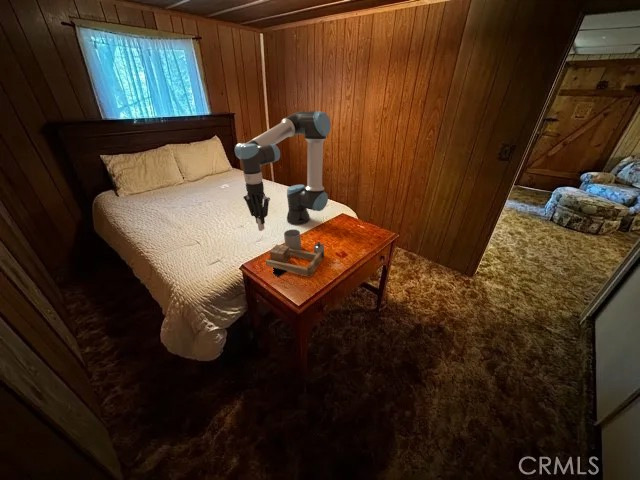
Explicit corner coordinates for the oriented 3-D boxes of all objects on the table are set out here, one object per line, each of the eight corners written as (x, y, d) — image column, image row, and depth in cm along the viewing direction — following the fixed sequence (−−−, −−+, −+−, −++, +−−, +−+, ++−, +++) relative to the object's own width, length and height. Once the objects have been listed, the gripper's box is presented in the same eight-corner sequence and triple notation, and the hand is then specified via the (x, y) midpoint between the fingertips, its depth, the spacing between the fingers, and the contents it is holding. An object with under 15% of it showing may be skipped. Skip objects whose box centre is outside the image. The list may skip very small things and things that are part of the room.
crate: (278, 255, 132) (276, 244, 129) (290, 258, 130) (289, 246, 126) (271, 263, 126) (269, 251, 123) (283, 266, 124) (282, 253, 120)
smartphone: (257, 266, 125) (277, 278, 116) (257, 265, 125) (277, 276, 116) (269, 259, 130) (289, 270, 121) (269, 258, 129) (289, 269, 121)
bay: (280, 252, 135) (279, 244, 132) (321, 260, 127) (321, 251, 125) (266, 266, 124) (265, 258, 121) (310, 276, 116) (310, 267, 114)
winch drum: (316, 252, 133) (316, 239, 129) (325, 254, 132) (325, 240, 127) (312, 257, 129) (312, 243, 125) (322, 259, 128) (321, 245, 123)
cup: (298, 254, 133) (297, 237, 128) (283, 252, 134) (281, 236, 129) (302, 245, 140) (301, 229, 135) (288, 244, 141) (286, 228, 136)
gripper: (236, 183, 110) (245, 231, 122) (262, 185, 106) (269, 235, 117) (246, 178, 116) (254, 224, 128) (271, 180, 112) (277, 228, 123)
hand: (261, 229), depth 123 cm, fingers closed
